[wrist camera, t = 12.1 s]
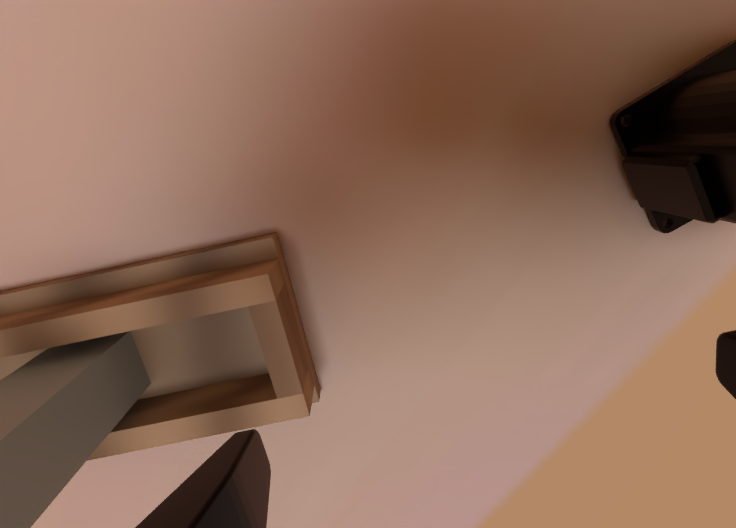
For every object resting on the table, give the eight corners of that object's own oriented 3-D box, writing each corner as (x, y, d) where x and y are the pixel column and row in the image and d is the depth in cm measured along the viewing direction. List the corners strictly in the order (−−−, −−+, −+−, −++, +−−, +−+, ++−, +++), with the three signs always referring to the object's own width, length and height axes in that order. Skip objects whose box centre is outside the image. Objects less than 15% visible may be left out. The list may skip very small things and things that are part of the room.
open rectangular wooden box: (276, 232, 20) (261, 251, 17) (320, 390, 23) (314, 433, 19) (-114, 316, 21) (-205, 349, 17) (-29, 461, 23) (-93, 515, 20)
